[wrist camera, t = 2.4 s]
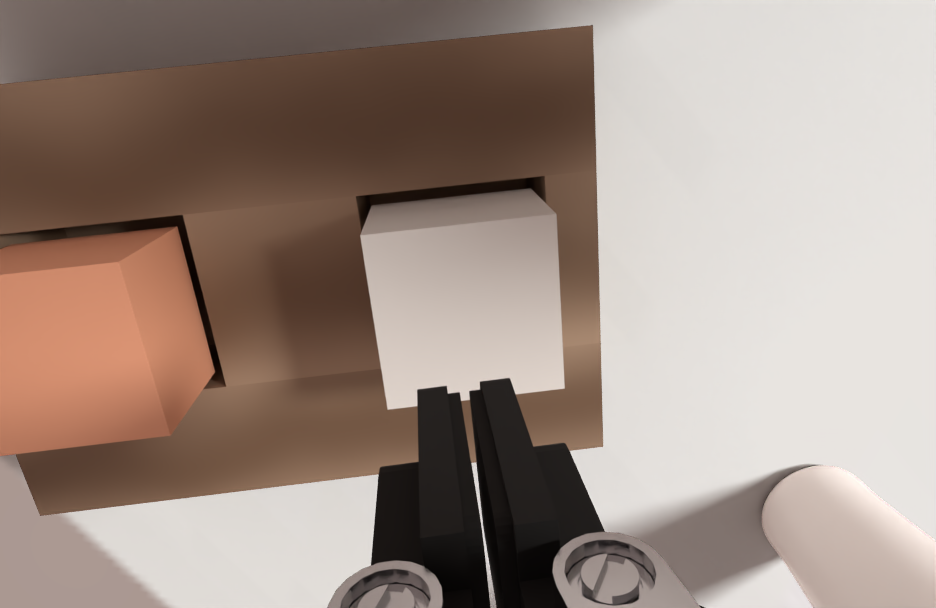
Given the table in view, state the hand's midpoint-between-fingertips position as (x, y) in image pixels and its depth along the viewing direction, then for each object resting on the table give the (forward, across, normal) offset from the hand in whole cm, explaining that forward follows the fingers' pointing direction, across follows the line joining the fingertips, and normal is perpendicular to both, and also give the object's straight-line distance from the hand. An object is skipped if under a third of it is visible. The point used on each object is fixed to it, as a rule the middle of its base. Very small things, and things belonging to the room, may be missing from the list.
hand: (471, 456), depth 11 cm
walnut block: (+16, +5, -1) cm, 16 cm away
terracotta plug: (+10, +10, -1) cm, 15 cm away
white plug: (+10, -1, -1) cm, 10 cm away
